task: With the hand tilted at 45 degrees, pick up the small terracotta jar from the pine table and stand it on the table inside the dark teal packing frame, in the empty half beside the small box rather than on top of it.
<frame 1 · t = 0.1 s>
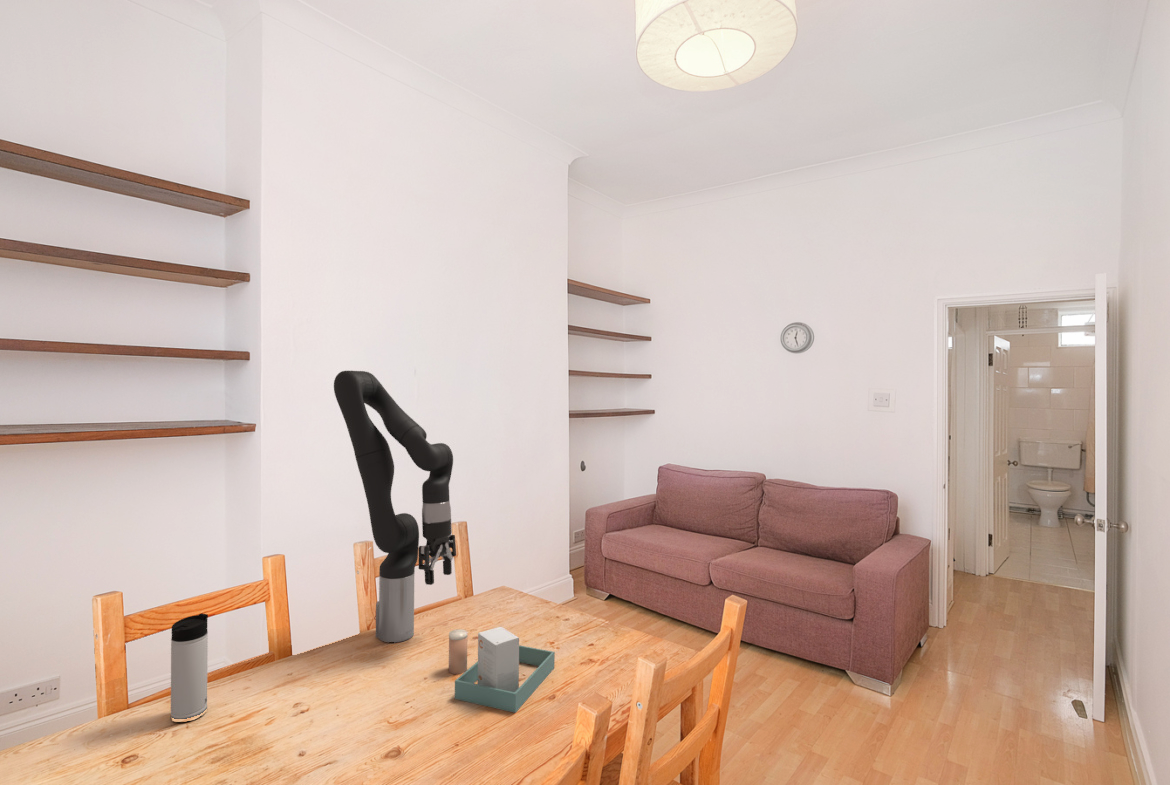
hand: (438, 579, 154), 17 cm above the table, tool pointing down, fingers open, 8 cm apart
travel mug: (189, 715, 120), on the table
jar: (457, 669, 141), on the table
crate: (507, 682, 135), on the table
small box: (497, 693, 131), resting in crate
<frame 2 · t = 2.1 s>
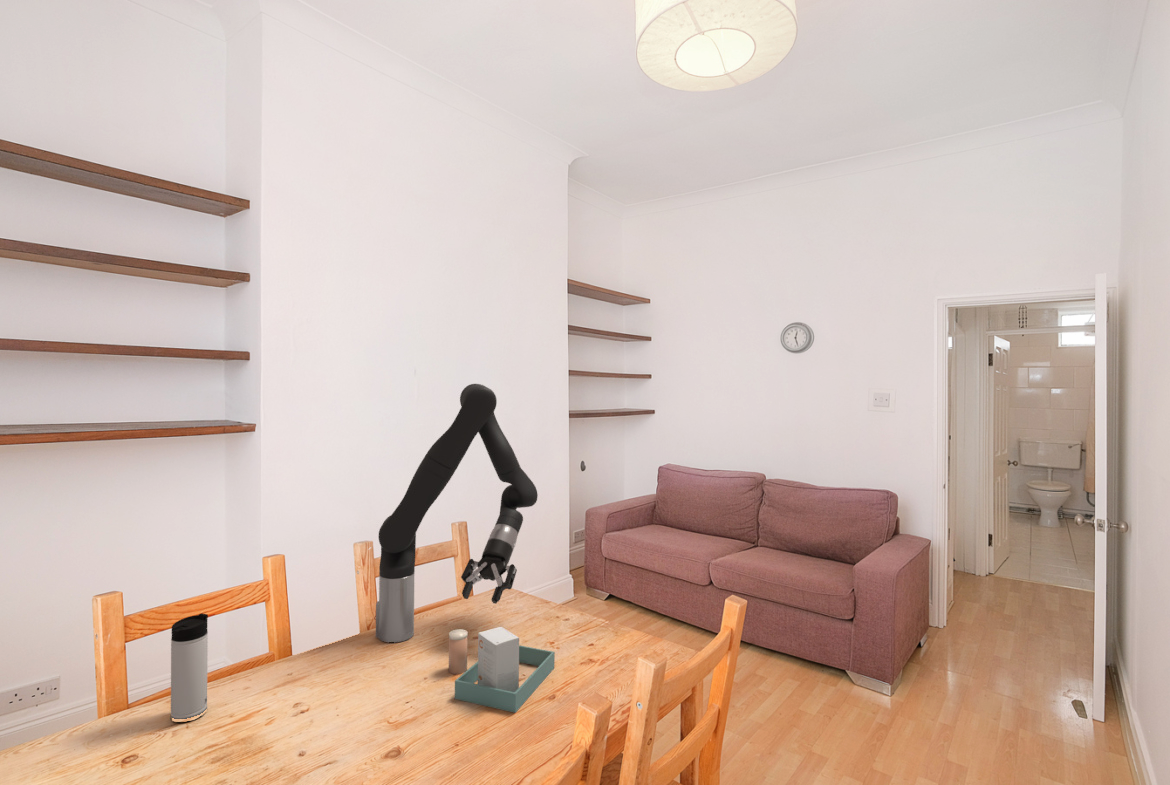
hand: (479, 599, 150), 14 cm above the table, tool tilted 45°, fingers open, 8 cm apart
nothing on the table moved.
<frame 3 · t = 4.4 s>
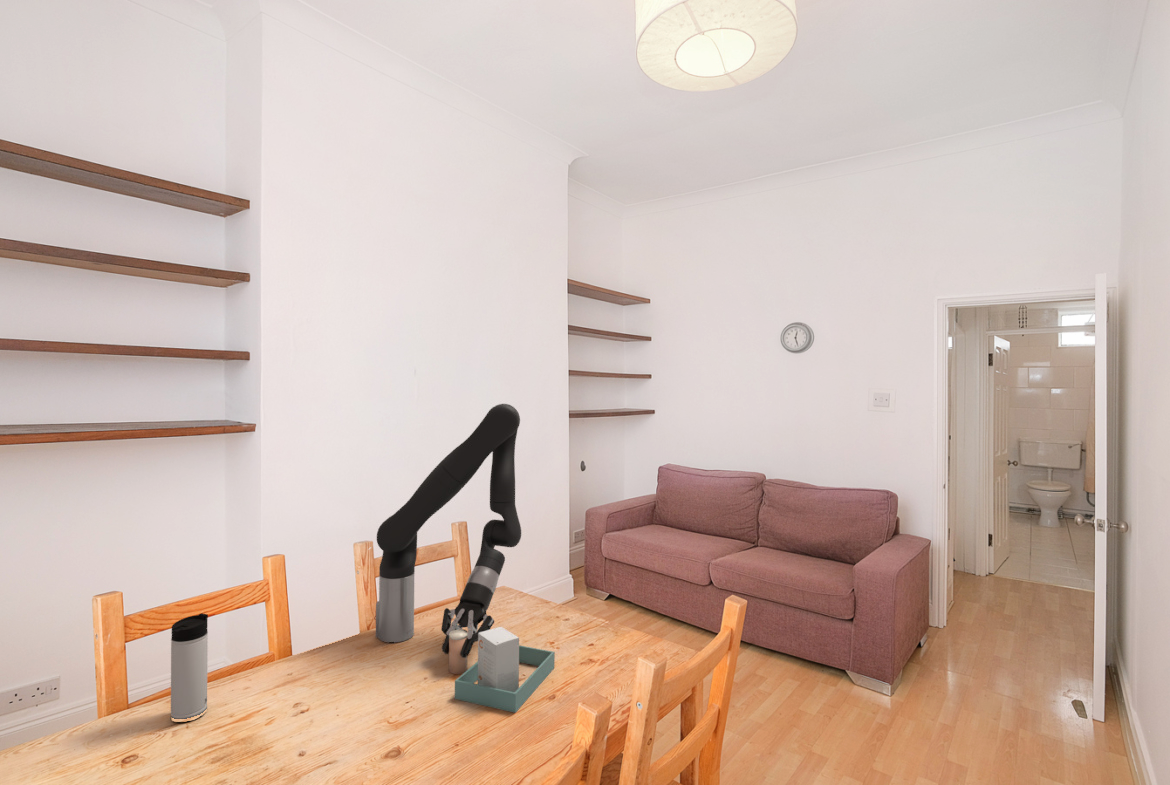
hand: (453, 654, 139), 5 cm above the table, tool tilted 45°, fingers closed on jar, 4 cm apart
jar: (457, 669, 141), on the table, touching gripper
everything else where it was.
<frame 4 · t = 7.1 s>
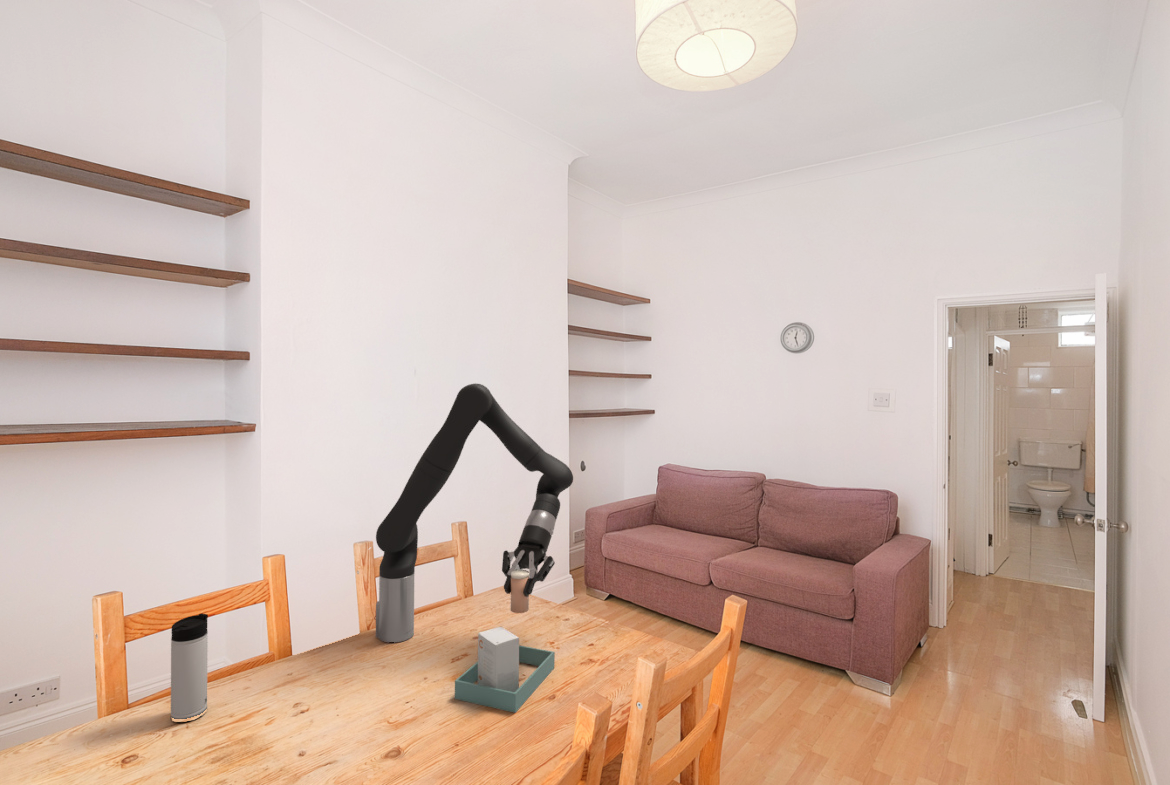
hand: (516, 593, 139), 20 cm above the table, tool tilted 45°, fingers closed on jar, 4 cm apart
jar: (519, 609, 141), point 15 cm above the table, touching gripper
everything else where it was.
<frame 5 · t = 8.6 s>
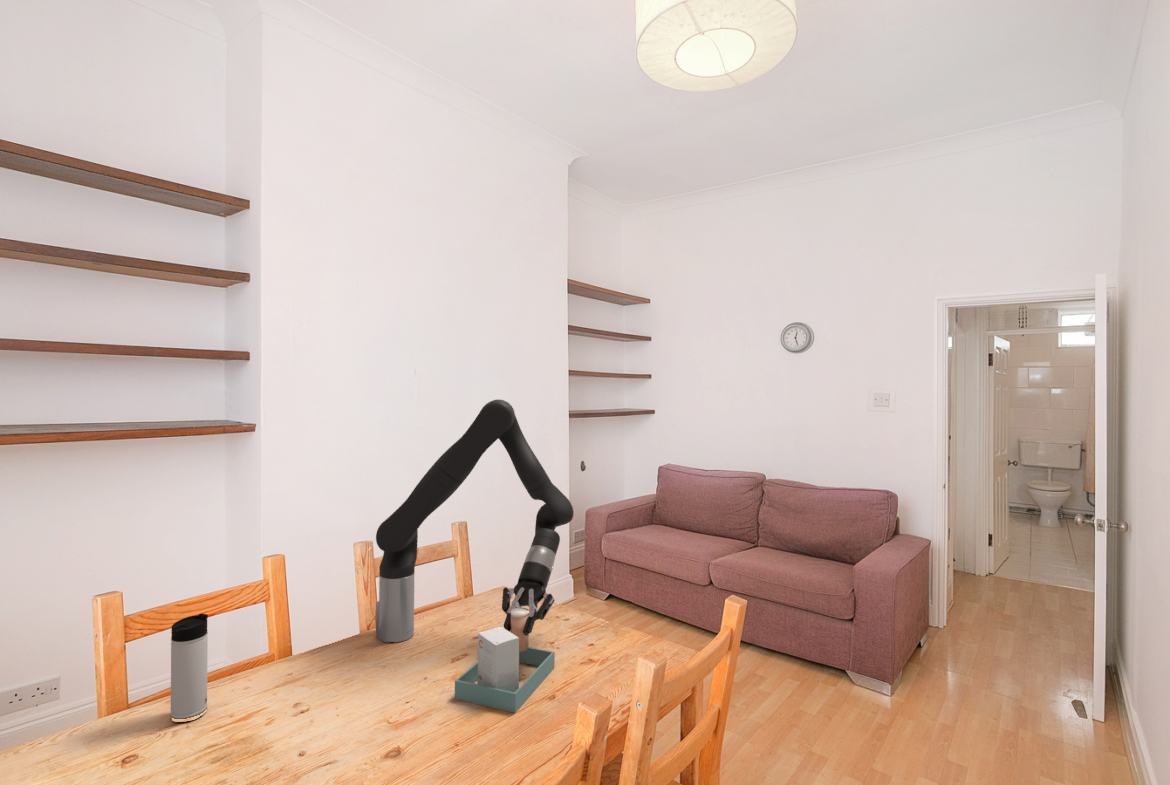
hand: (516, 632, 139), 10 cm above the table, tool tilted 45°, fingers closed on jar, 4 cm apart
jar: (519, 647, 141), point 6 cm above the table, touching gripper
everything else where it was.
when the fingers open (6 cm above the table, at t = 9.9 s): jar drops 1 cm, resting in crate.
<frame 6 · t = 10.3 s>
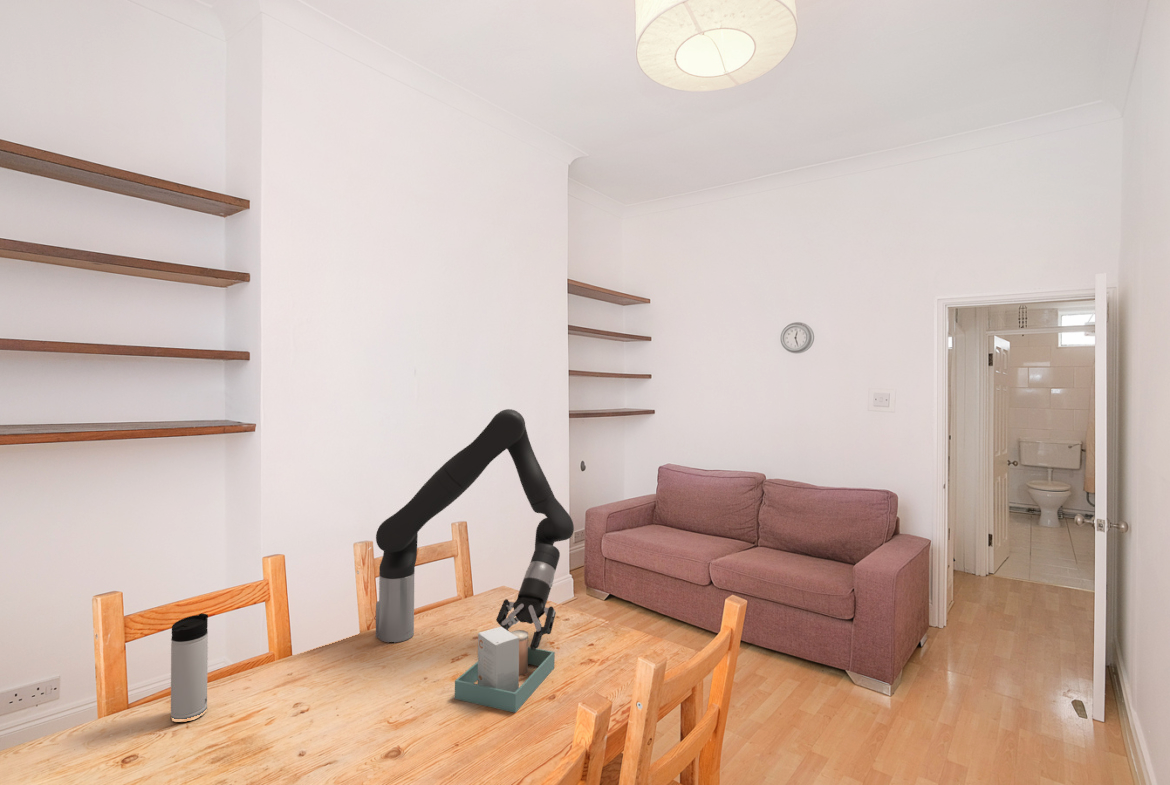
hand: (516, 645, 139), 7 cm above the table, tool tilted 45°, fingers open, 8 cm apart
jar: (518, 670, 141), resting in crate
everything else where it was.
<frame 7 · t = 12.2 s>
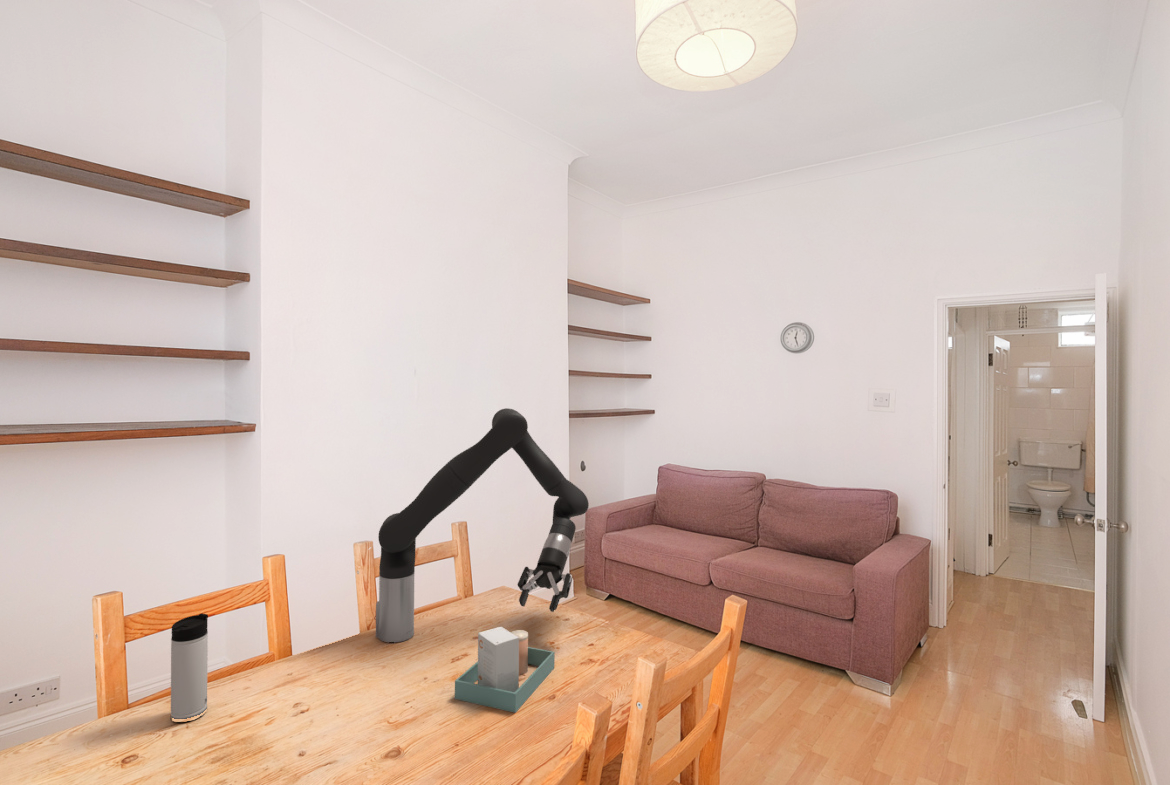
hand: (536, 607, 153), 11 cm above the table, tool tilted 45°, fingers open, 8 cm apart
nothing on the table moved.
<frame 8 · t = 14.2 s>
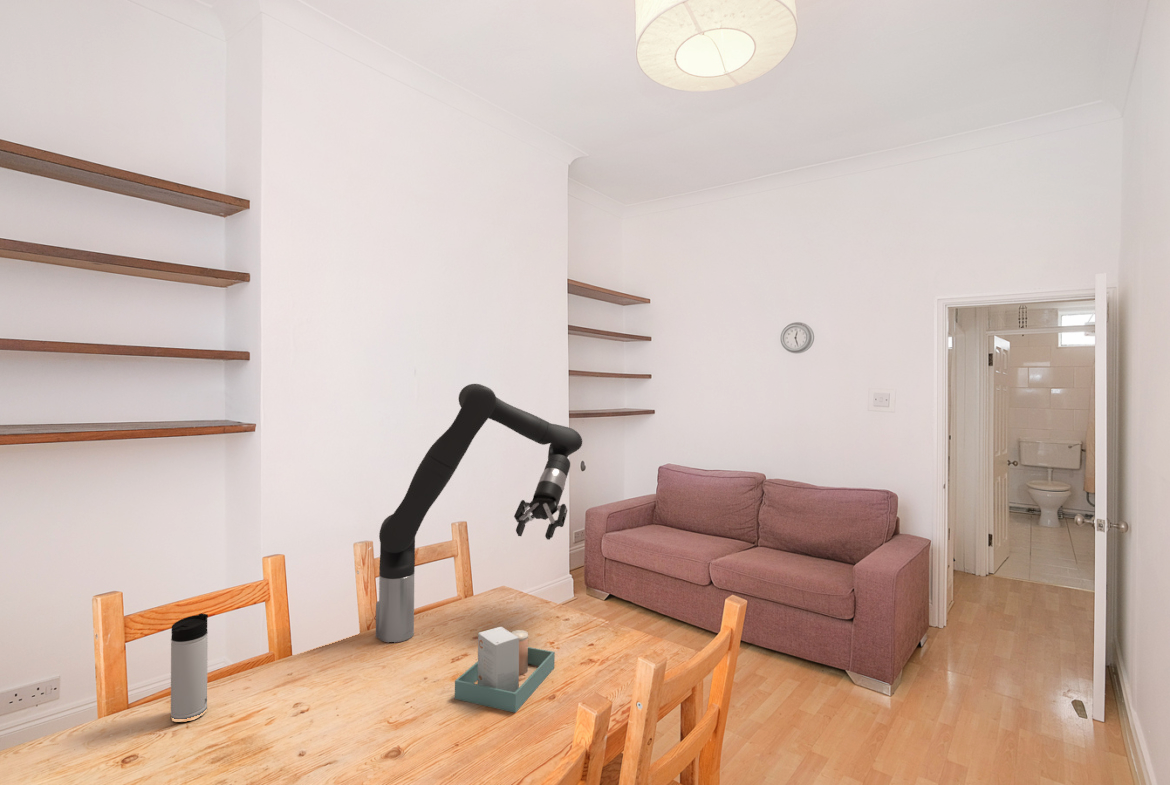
hand: (533, 536, 157), 29 cm above the table, tool tilted 45°, fingers open, 8 cm apart
nothing on the table moved.
at the end: jar inside the target area on the crate (1.4 cm from its centre), point 0.0 cm above the crate's base; jar tilted 0°; small box tilted 0° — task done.
